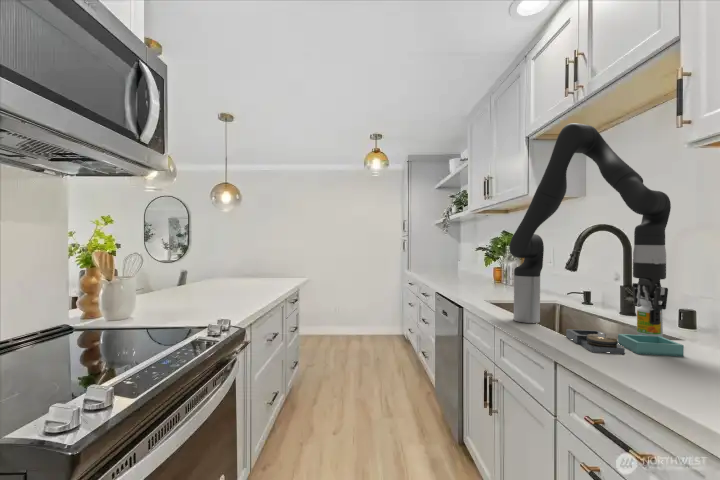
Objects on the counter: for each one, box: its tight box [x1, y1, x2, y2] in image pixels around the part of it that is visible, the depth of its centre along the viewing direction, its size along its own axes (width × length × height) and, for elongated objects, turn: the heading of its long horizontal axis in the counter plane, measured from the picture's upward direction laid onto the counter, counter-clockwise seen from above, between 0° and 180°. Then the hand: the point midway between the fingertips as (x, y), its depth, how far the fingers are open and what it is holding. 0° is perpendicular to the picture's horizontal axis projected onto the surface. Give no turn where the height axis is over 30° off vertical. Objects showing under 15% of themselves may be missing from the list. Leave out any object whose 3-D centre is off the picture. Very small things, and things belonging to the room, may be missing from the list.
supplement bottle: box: [636, 299, 661, 337], centre depth 111 cm, size 5×5×10 cm
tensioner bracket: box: [565, 328, 626, 355], centre depth 115 cm, size 18×9×4 cm, turn 170°
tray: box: [617, 333, 685, 358], centre depth 110 cm, size 11×11×3 cm
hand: (648, 322), depth 110 cm, fingers closed on supplement bottle, 5 cm apart
